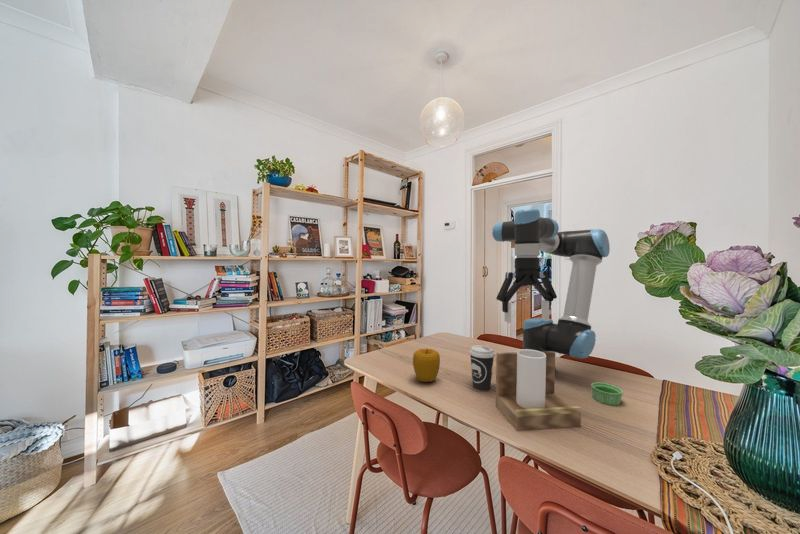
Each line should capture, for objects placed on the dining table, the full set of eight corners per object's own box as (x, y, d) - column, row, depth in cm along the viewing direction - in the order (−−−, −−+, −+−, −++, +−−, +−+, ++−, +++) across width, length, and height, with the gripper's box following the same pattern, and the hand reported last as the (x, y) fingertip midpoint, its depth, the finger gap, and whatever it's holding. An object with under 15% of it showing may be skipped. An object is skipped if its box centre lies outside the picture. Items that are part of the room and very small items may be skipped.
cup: (516, 407, 86) (517, 355, 86) (515, 395, 94) (516, 347, 94) (546, 412, 84) (547, 359, 83) (543, 400, 91) (544, 350, 91)
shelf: (551, 403, 97) (552, 351, 97) (580, 426, 84) (582, 365, 83) (495, 406, 95) (496, 352, 94) (516, 430, 82) (518, 368, 81)
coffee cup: (496, 394, 104) (496, 353, 103) (469, 391, 105) (469, 351, 105) (492, 382, 113) (493, 345, 113) (468, 380, 115) (468, 344, 114)
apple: (420, 388, 108) (420, 354, 107) (408, 377, 118) (408, 346, 117) (445, 383, 112) (445, 351, 112) (431, 373, 122) (431, 343, 122)
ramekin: (615, 409, 94) (615, 396, 94) (586, 397, 101) (586, 385, 101) (626, 402, 99) (627, 389, 98) (597, 391, 106) (598, 380, 106)
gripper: (553, 256, 99) (552, 316, 100) (485, 257, 95) (486, 320, 96) (569, 256, 91) (568, 321, 92) (497, 257, 88) (497, 325, 89)
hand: (526, 321), depth 94 cm, fingers open, 13 cm apart
